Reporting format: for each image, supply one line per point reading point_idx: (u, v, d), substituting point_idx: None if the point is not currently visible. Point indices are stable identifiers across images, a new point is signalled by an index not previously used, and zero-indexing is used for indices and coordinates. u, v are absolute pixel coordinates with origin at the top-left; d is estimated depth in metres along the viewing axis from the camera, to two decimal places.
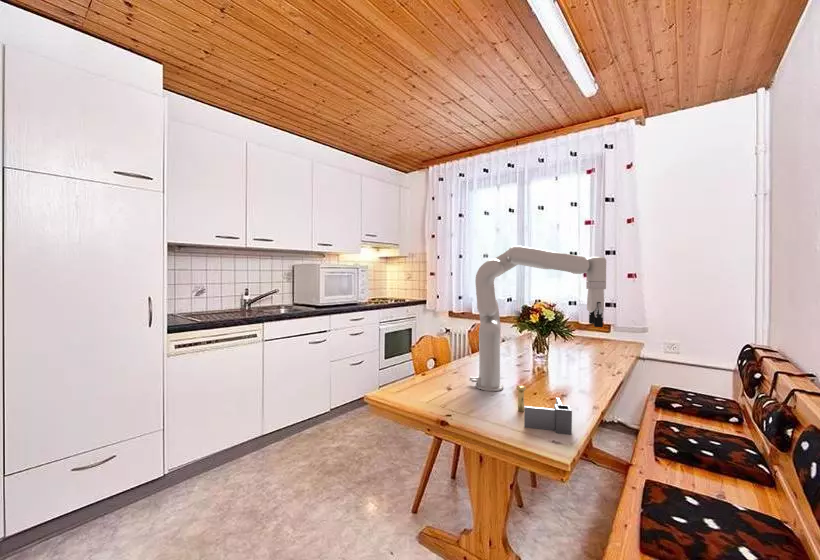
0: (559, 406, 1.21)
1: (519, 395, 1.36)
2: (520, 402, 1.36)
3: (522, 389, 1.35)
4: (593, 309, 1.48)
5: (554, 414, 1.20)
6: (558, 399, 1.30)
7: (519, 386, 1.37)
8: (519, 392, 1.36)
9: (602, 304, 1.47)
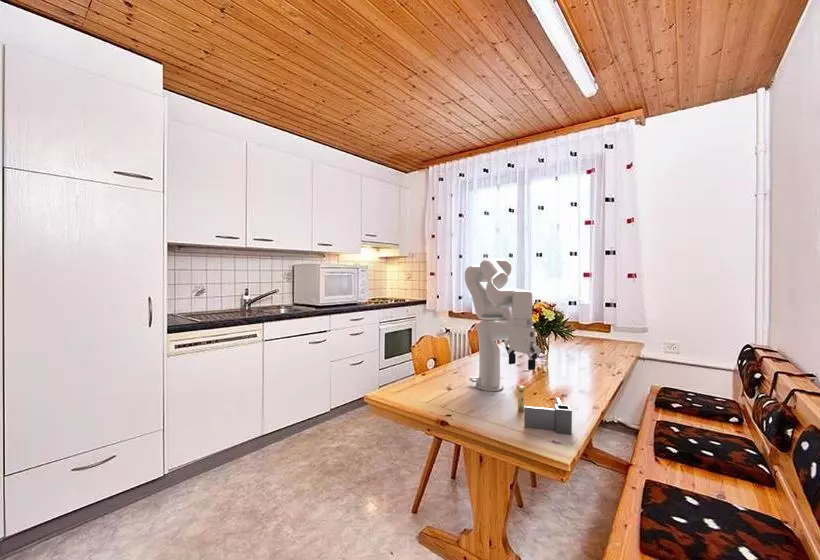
0: (559, 406, 1.21)
1: (519, 395, 1.36)
2: (520, 402, 1.36)
3: (522, 389, 1.35)
4: None
5: (554, 414, 1.20)
6: (558, 399, 1.30)
7: (519, 386, 1.37)
8: (519, 392, 1.36)
9: None
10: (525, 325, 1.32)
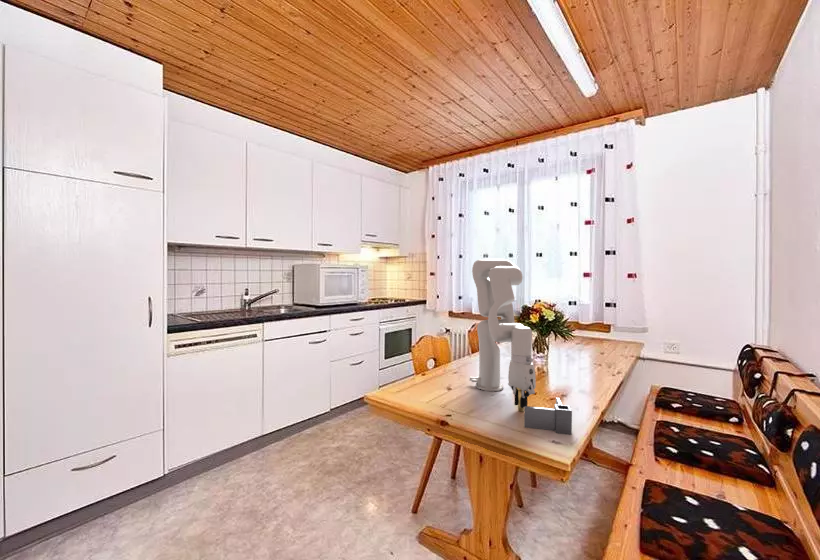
0: (559, 406, 1.21)
1: (519, 395, 1.36)
2: None
3: None
4: None
5: (554, 414, 1.20)
6: (558, 399, 1.30)
7: None
8: (519, 392, 1.36)
9: None
10: (524, 362, 1.32)
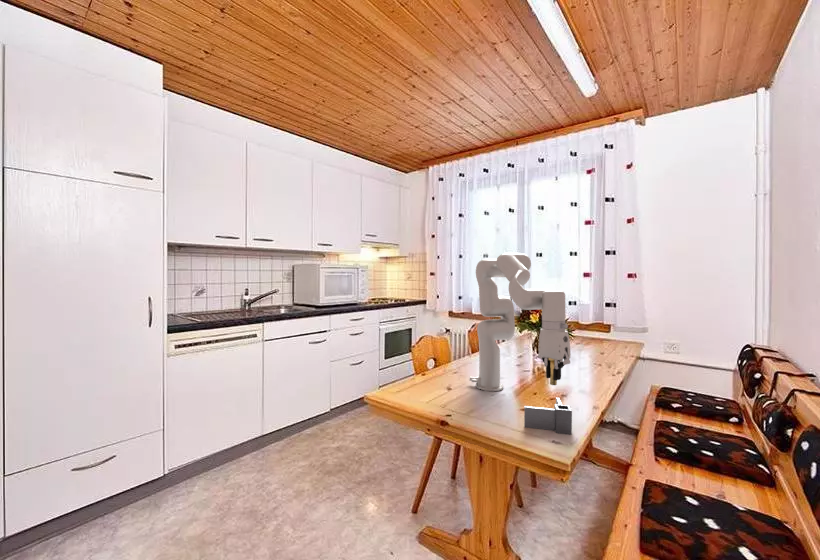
0: (559, 406, 1.21)
1: (551, 366, 1.22)
2: None
3: None
4: None
5: (554, 414, 1.20)
6: (558, 399, 1.30)
7: None
8: (551, 363, 1.22)
9: None
10: (558, 329, 1.19)
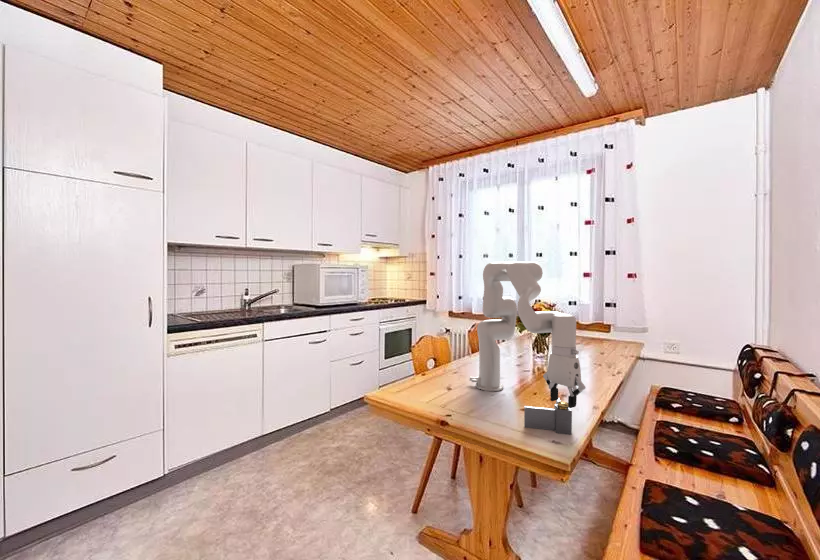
0: None
1: None
2: None
3: (565, 406, 1.18)
4: None
5: (554, 414, 1.20)
6: (558, 399, 1.30)
7: (561, 402, 1.20)
8: None
9: None
10: (569, 355, 1.15)
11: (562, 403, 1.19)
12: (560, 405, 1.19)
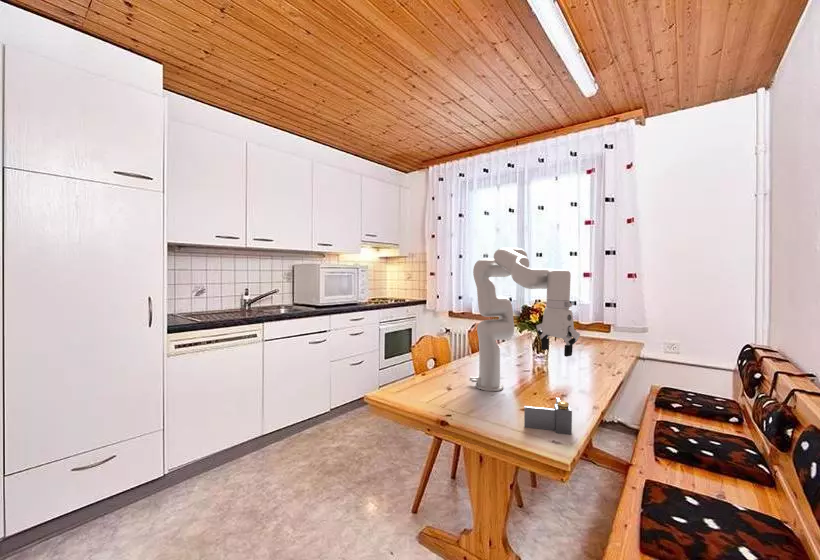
0: None
1: None
2: None
3: (565, 406, 1.18)
4: None
5: (554, 414, 1.20)
6: (558, 399, 1.30)
7: (561, 402, 1.20)
8: None
9: None
10: (562, 307, 1.21)
11: (562, 403, 1.19)
12: (560, 405, 1.19)
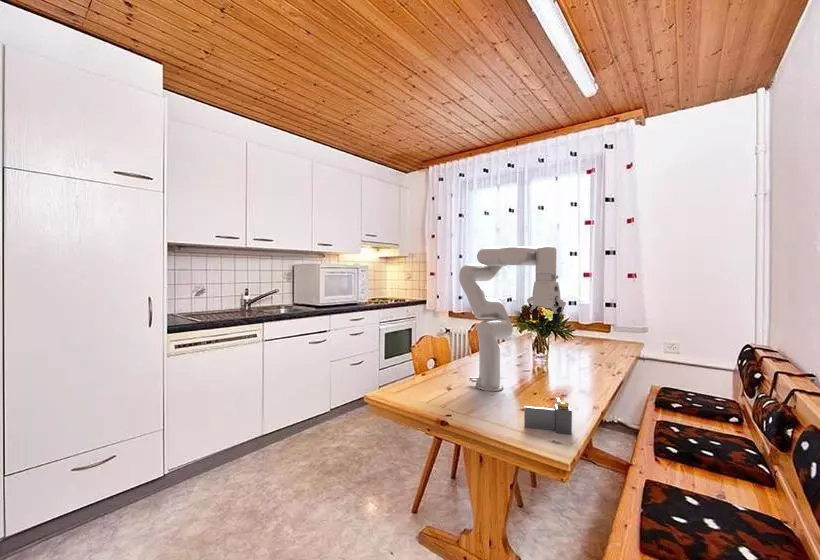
0: None
1: None
2: None
3: (565, 406, 1.18)
4: None
5: (554, 414, 1.20)
6: (558, 399, 1.30)
7: (561, 402, 1.20)
8: None
9: None
10: (550, 279, 1.33)
11: (562, 403, 1.19)
12: (560, 405, 1.19)
